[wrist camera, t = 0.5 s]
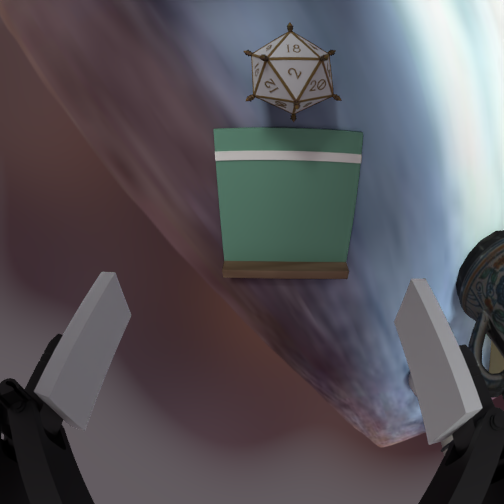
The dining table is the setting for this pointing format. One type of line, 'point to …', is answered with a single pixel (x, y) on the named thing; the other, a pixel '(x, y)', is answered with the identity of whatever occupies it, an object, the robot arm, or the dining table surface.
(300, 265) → the walnut backstop rail
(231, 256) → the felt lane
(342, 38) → the dining table surface
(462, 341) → the dining table surface
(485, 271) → the beer stein
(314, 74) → the game die
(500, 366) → the seated figure statue
